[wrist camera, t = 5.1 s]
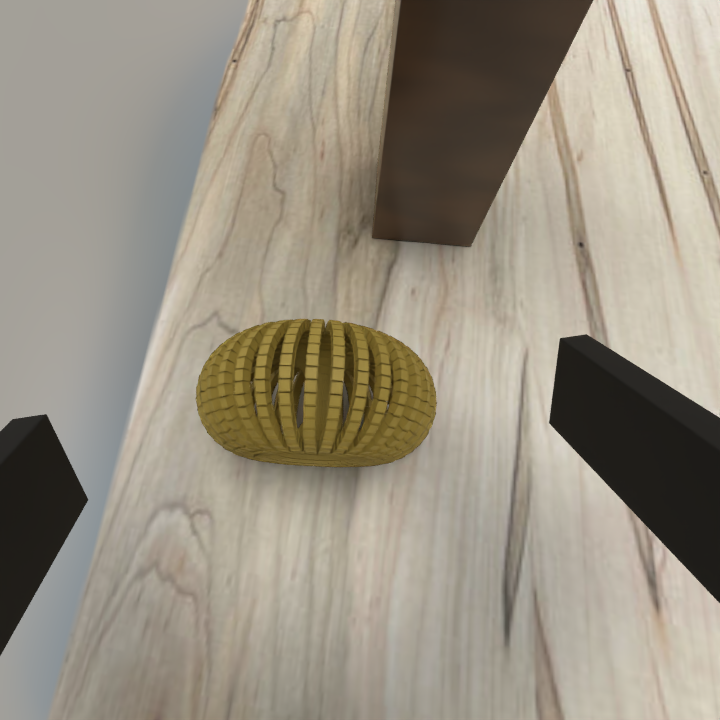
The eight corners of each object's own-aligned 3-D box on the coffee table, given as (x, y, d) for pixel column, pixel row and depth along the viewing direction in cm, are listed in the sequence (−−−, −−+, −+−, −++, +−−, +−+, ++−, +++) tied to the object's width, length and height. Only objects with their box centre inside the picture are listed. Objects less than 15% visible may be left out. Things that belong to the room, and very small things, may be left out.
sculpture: (223, 466, 18) (140, 436, 11) (235, 373, 19) (169, 287, 12) (415, 474, 18) (468, 450, 11) (415, 382, 20) (462, 303, 12)
